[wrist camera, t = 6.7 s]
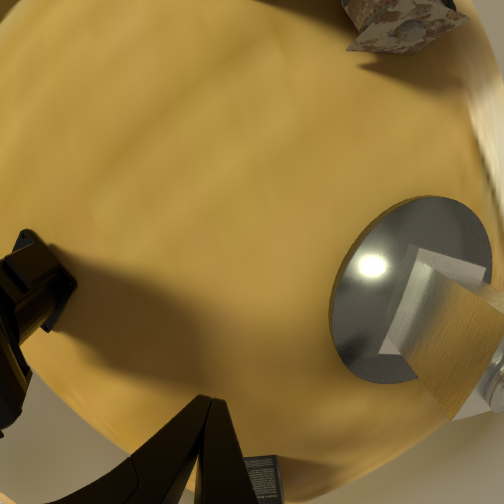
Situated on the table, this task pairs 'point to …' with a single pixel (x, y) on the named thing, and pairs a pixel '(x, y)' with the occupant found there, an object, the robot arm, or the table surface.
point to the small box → (265, 479)
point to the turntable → (395, 276)
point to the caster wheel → (400, 24)
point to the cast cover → (448, 331)
